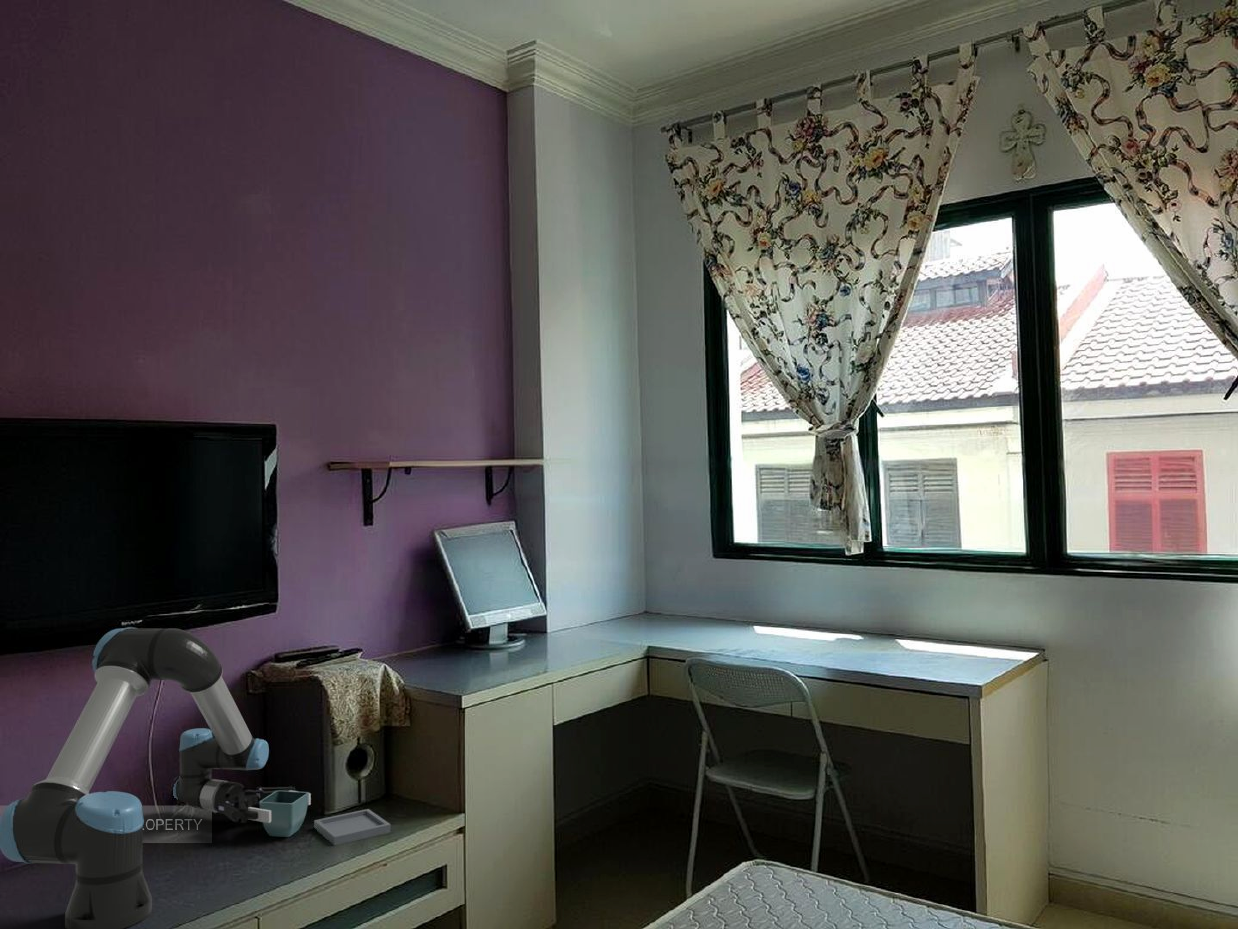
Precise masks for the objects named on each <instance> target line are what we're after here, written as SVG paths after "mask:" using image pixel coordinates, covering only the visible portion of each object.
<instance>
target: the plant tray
mask: <svg viewBox="0 0 1238 929" xmlns="http://www.w3.org/2000/svg"><path fill="white" fill-rule="evenodd" d="M391 825H392V824H391V823H389V822H388V821H386V820H385V819H383V818H382V817H381V816H380V815H378V814H376V813H375V812H373V811H372V810H371V809H369V808H367V809H362V810H355V811H352V812H347V813H343V814H338V815H335V816H329V817H324V818H319V819H315V820H313V829H314V828H315V829H316V830H317V832H318V833H319V834H320V835H321V834H322V835H323V836H322V835H321V836H322V837H324V838H325V839H326V840H327V841H328V840H329V841H328V842H329V843H331V844H332V845H333V846H338V845H343V844H348V843H351V842H352V843H353V842H355V841H360V840H364V839H369V838H374V837H378V836H382V835H386V834H390V833H391V830H392V828H391V827H392V826H391ZM315 829H314V830H315ZM316 830H315V831H316Z"/></svg>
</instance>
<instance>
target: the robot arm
mask: <svg viewBox="0 0 1238 929" xmlns="http://www.w3.org/2000/svg"><path fill="white" fill-rule="evenodd" d="M92 654H93V656H94V658H93V659H92V664H91V665H92V669H93V673H94V680H95V681H96V683H97V684H96V685H95V687H94V689H93V690H92V693H91V695H90V697H89V698H88V700H87V702H86V704H85V706H84V707H83V709H82V711H81V714H80V715H79V717H78V719H77V720H76V723H74V724H75V725H73V726H74V727H73V728H72V730H71V732H70V734H69V735H68V738H67V740H66V741H65V743H64V744H63V747H62V748H61V751H60V752H59V754H58V757H57V758H56V760H55V762H54V764H53V765H52V767H51V769H50V771H49V773H48V775H47V776H46V779H44V780H41V781H38V782H36V783H35V784H34V785H33V786H32V788H31V790H30V791H29V793H28V795H27V796H26V798H19V799H16V800H14V801H12V802H11V803H9V805H7V807H6V808H5V809H4V811H3V813H2V815H1V818H0V850H1V853H2V854H3V855H4V857H6V858H7V859H8V860H9V861H11V862H18V863H19V862H21V863H25V864H29V865H30V864H62V865H75V884H74V888H73V890H72V893H71V895H70V899H69V902H68V904H67V907H66V910H65V914H64V927H65V929H126V928H128V927H129V928H130V927H131V926H134V925H136V924H138V923H140V922H142V921H143V920H144V919H146V918H147V917H148V916H149V915H150V914H151V912H152V911H153V910H152V909H153V907H152V906H153V897H152V894H151V892H150V890H149V886H148V884H147V881H146V879H145V876H144V872H143V848H144V847H143V846H144V845H143V841H144V840H143V838H144V835H143V834H144V823H145V819H144V815H143V805H142V802H141V800H140V799H139V797H137V796H135V795H133V794H131V793H128V792H123V791H115V790H114V791H113V790H111V791H109V790H107V791H106V792H104V791H98V792H96V791H95V792H91V793H90V791H91V789H92V787H93V784H94V783H95V780H96V779H97V777H98V775H99V773H100V770H101V769H102V767H103V765H104V763H105V760H106V758H107V756H108V754H109V752H110V751H111V748H112V746H113V744H114V743H115V740H116V738H117V736H118V734H119V732H120V730H121V728H122V726H123V724H124V722H125V720H126V718H127V716H128V715H129V712H130V710H131V708H132V706H133V704H134V702H135V700H136V698H137V697H141V696H143V695H145V694H146V693H147V692H148V691H149V690H148V689H149V688H150V686H151V684H152V682H153V681H172V682H175V683H178V684H179V685H180V687H181V689H183V691H185V692H186V693H190V695H191V696H192V698H193V700H194V702H195V704H196V706H197V707H198V710H199V711H200V713H201V714H202V716H203V718H204V720H205V722H206V723H207V725H208V727H209V728H204V727H202V728H192V729H191V728H190V729H188V730H186V731H183V732H182V733H181V735H180V738H179V739H180V743H179V749H178V751H179V775H178V776H179V779H178V780H177V781H176V783H175V784H174V787H173V796H174V798H176V799H177V800H178V799H179V800H180V801H182V802H185V803H188V804H190V806H192V807H194V808H193V809H197V810H204V811H209V812H210V811H211V812H213V814H216V813H219V814H222V815H224V816H226V817H227V818H229V820H231V821H232V822H234V823H238V822H239V821H240V822H241V824H245V823H247V821H248V820H250V821H256V822H261V823H262V822H266V823H270V822H271V810H265V809H260V807H259V808H258V807H254V806H260V805H259V802H260V801H261V800H263V799H264V798H266V797H267V796H269V795H271V794H272V793H273V792H275V791H294V792H299V791H298V790H296V787H295V786H291V785H289V786H277V787H276V786H274V787H272V786H269V787H264V786H257V787H256V790H253V789H246V788H245V786H244V785H243V784H242V783H239V782H233V781H228V780H224V779H223V780H222V779H216V778H212V772H213V771H212V770H214V769H215V770H239V771H240V770H241V771H253V770H260V769H263V768H264V767H265V765H266V763H267V762H268V760H269V753H270V749H269V743H268V742H267V741H266V739H265V740H264V739H262V738H254V736H253V735H252V734H251V732H250V730H249V728H248V725H247V724H246V722H245V720H244V717H243V716H242V714H241V712H240V710H239V708H238V706H237V704H236V702H235V700H234V698H233V696H232V694H231V692H230V690H229V687H228V686H227V684H226V682H225V680H224V679H223V676H222V675H223V673H224V670H223V666H222V664H221V662H220V660H219V658H218V656H217V655H216V654H215V652H214V651H213V650H212V649H211V648H210V647H209V646H208V645H207V644H206V643H205V642H204V641H203V640H201V639H200V638H199V637H198V636H196V635H194V634H193V633H191V632H188V631H187V630H183V629H179V628H174V627H173V628H172V627H171V628H170V627H169V628H137V627H132V626H129V627H124V628H115V629H111V630H110V631H108V632H107V633H105V634H104V635H103V636H102V637H101V638H100V639H99V641H98V642H97V643H96V646H95V647H94V650H93V653H92ZM213 736H214V737H213ZM181 777H182V778H181ZM311 795H312V794H311V793H310V792H309V797H308V805H307V806H310V805H311V804H312V803H311V802H312V801H311V800H312V798H311Z"/></svg>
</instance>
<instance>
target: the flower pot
mask: <svg viewBox="0 0 1238 929" xmlns="http://www.w3.org/2000/svg"><path fill="white" fill-rule="evenodd" d="M309 793H310V792H309V791H298V792H294V791H275V792H273V793H272V794H271V795H269V796H267V797H266V798H264V799H263V800H261V801H260V800H259V801H260V802H259V801H258V802H259V805H258V806H259V809H265V810H271V822H270V823H266V822H261V824H262V826H263V828H264V829H265V831H266V833H267V834H268V835H269V836H270V837H279V838H280V837H281V838H289V837H291V836H292V835H294V834H295V833H297V831H299V830H300V828H301V826H302V824H303V823H304V820H305V818H306V815H307V810H308V806H309V805H308V797H309Z"/></svg>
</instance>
